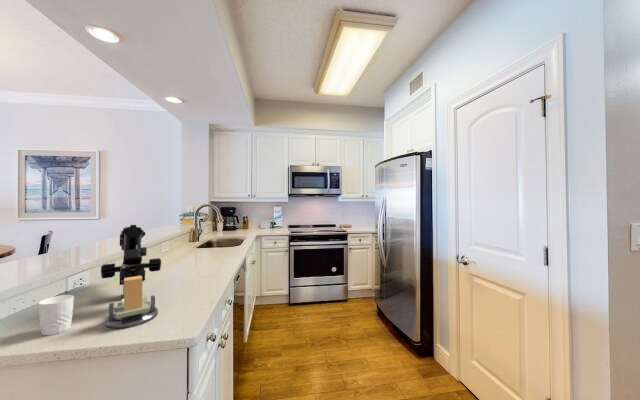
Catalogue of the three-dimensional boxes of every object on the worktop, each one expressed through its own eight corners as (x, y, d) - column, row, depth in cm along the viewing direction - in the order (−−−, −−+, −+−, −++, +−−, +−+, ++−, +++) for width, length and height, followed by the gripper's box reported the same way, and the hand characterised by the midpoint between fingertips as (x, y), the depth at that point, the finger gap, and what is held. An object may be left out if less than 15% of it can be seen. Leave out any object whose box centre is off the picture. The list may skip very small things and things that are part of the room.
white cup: (55, 324, 84) (55, 295, 84) (80, 323, 85) (80, 294, 85) (30, 337, 76) (30, 304, 76) (57, 336, 77) (58, 303, 77)
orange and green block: (115, 306, 91) (115, 275, 92) (148, 300, 97) (148, 271, 98) (113, 319, 80) (114, 284, 81) (151, 310, 86) (151, 278, 87)
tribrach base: (106, 316, 90) (106, 298, 90) (156, 306, 99) (156, 289, 99) (103, 334, 78) (103, 313, 78) (159, 320, 87) (160, 301, 87)
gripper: (101, 243, 92) (98, 280, 84) (160, 238, 104) (163, 271, 95) (103, 260, 99) (100, 296, 90) (158, 254, 110) (161, 286, 101)
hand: (132, 287), depth 94 cm, fingers closed
